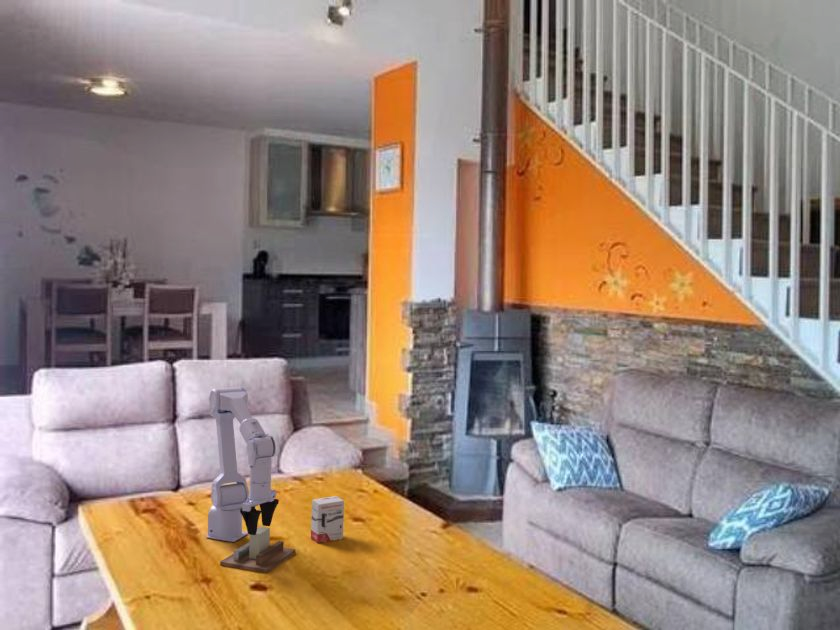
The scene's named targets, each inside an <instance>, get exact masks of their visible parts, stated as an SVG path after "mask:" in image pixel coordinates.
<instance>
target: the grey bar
mask: <svg viewBox="0 0 840 630" xmlns="http://www.w3.org/2000/svg"><path fill="white" fill-rule="evenodd" d="M233 554H234V561H240V560H241V559H243V558H245V557H246V556H248V555H249V541H248V542H247V543H245V544H243V545H242V546H240V547H239V548H237V549H235V550H234V551H233Z"/></svg>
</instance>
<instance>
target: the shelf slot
mask: <svg viewBox="0 0 840 630" xmlns="http://www.w3.org/2000/svg"><path fill="white" fill-rule="evenodd" d="M296 552H297V551H296V549H295V548H289V547H284V541H282V540H277V541H276V542H275V543H273V544H270V547H268V548H267V549H265V550H264V551H262V552H260V553H259V554H257V555H256V559H252V558H249V555H248V556H246V557H245V558H243V559H241V560H240V561H234V553H232V554H230V555H229V556H227V557H225V558H224V559H222V560H220V562H219V563H220V564H219V565H220V566H222V565H223V566H224V567H228V568H234V569H240V570H245V571H251V572H256V573H257V572H258V573H263V574H268V573H269V572H270V571H272V570H273V569H276V567H278V566H280V564H282V563H283V562H285V561H286V560H287V558H288V559H289V558H291V557H292V556H293V555H295V554H296ZM294 553H295V554H294ZM223 566H222V567H223Z"/></svg>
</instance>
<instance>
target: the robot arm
mask: <svg viewBox="0 0 840 630" xmlns="http://www.w3.org/2000/svg"><path fill="white" fill-rule="evenodd" d="M247 391H248V390H247V389H246V388H245V386H242V385H241V386H235V387H223V388H221V387H220V388H217V387H216V388H215V387H214V388H212V389H211V391H210V393H209V396H208V397H209V398H208V402H209V413H210V417H212V418H214V419H215V425H216V435H217V448H218V450H217V451H218V460H219V475H218V476H217V477H216V478H215V479H214V480H212V482H211V492H210V500H211V503H212V506H211V507H210V509H209V511H208V514H207V515H208V516H207V535H206V536H205V538H208V539H212V540H218V541H219V540H220V541H225V542H229V543H235V542H236V541H238V540H240V539H242V538H243V537H245V536H247V535H249V536H250V535H256V532H257V528H258V526H259V525H258V523H259V519H260V516H261V526H262V527H271V525H272V521H273V516H274V513H275V510H276V509H277V506H278V504H279V503H280V500H279V499H278V498H277V490H276V489H271V488H272V458H274V456H275V455H276V451H277V447H276V441H275V439H274V437H273V436H272V435H270V434H268V433H266V432H265V431H264V428H263V427H262V426H261V423H260V422H259V420H258V419H257V418H254V417H252V415H251V411H250V410H249V407H248V398H249V395H248V392H247ZM234 419H236V420H237V422H238V423H239V424H240V425H239V428H238V429H239V432H240V434H241V437H242V438H243V440H244V442H245V443H246V448H245V449H246V454H247V462H248V465H249V486H248V483H247V479H246V477H245V476H243V475H242V474H240V473H239V472H238V463H237V452H236V441H235V440H236V439H235V430H234V429H235V427H234ZM258 506H259V507H260V508H259V509H257V507H258ZM243 520H244V523H245V526H246V530H247V531H243Z"/></svg>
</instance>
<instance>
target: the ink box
mask: <svg viewBox="0 0 840 630" xmlns="http://www.w3.org/2000/svg"><path fill="white" fill-rule="evenodd" d="M344 509H345V501H344V500H343V498H340V497H339V496H337V495H334V496H328V497H321V498H314V499H312V500H311V523H310V525H311V526H310V539H311V540H313V541H314V542H315V541H316V542H315V543H317V544H320V543H319V542H322V543H325V542H324V541H328V542H331V541H330V540H333V541H336V540H337V539H339V540H343V539H344V520H345V519H344V518H345V516H344V512H345V510H344ZM342 538H343V539H342ZM337 541H338V540H337Z"/></svg>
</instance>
